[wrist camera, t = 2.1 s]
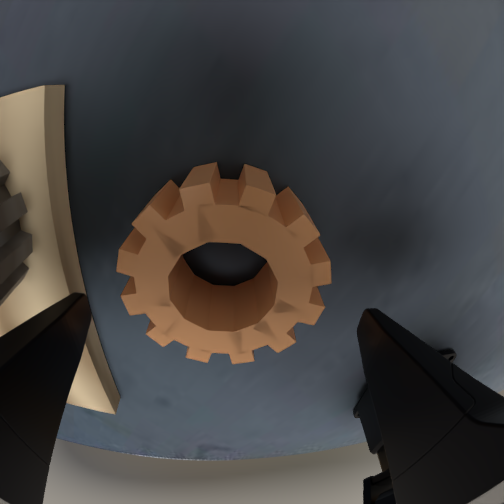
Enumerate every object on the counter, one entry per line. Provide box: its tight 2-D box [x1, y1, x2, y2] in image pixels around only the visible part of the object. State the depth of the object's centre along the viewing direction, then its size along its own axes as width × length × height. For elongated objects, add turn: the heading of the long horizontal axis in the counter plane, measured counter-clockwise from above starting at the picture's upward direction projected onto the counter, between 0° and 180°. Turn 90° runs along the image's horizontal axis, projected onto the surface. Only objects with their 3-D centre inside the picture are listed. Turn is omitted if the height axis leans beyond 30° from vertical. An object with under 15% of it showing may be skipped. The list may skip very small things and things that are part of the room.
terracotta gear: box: [116, 162, 331, 364], centre depth 11 cm, size 7×7×3 cm
